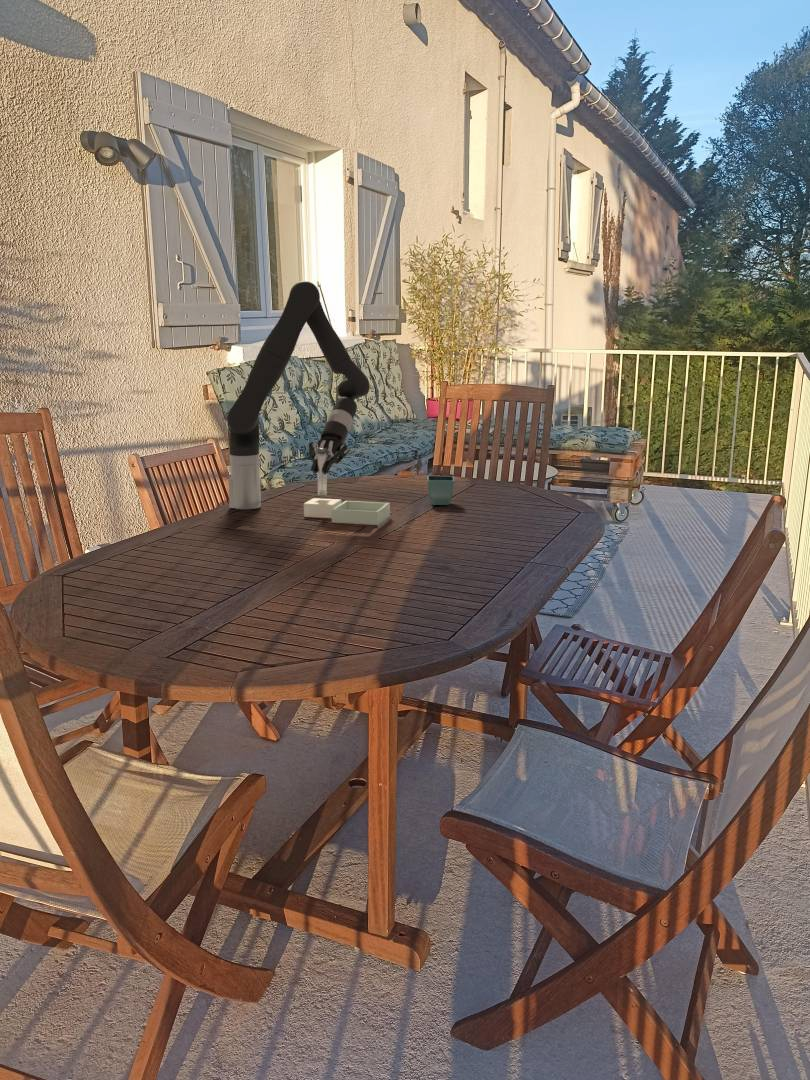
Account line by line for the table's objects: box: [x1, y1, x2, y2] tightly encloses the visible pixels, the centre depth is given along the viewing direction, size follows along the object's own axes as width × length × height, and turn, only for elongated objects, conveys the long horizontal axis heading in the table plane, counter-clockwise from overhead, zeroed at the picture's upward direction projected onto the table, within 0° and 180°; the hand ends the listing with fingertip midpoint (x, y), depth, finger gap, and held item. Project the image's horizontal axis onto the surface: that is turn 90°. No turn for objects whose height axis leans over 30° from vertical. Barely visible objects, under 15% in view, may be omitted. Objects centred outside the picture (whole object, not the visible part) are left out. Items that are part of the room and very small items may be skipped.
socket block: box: [303, 497, 342, 519], centre depth 256 cm, size 9×9×5 cm
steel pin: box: [315, 447, 328, 496], centre depth 254 cm, size 3×3×14 cm
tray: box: [331, 500, 391, 529], centre depth 251 cm, size 14×14×5 cm
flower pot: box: [426, 475, 456, 506], centre depth 277 cm, size 9×9×9 cm
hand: (318, 472), depth 252 cm, fingers closed on steel pin, 2 cm apart
